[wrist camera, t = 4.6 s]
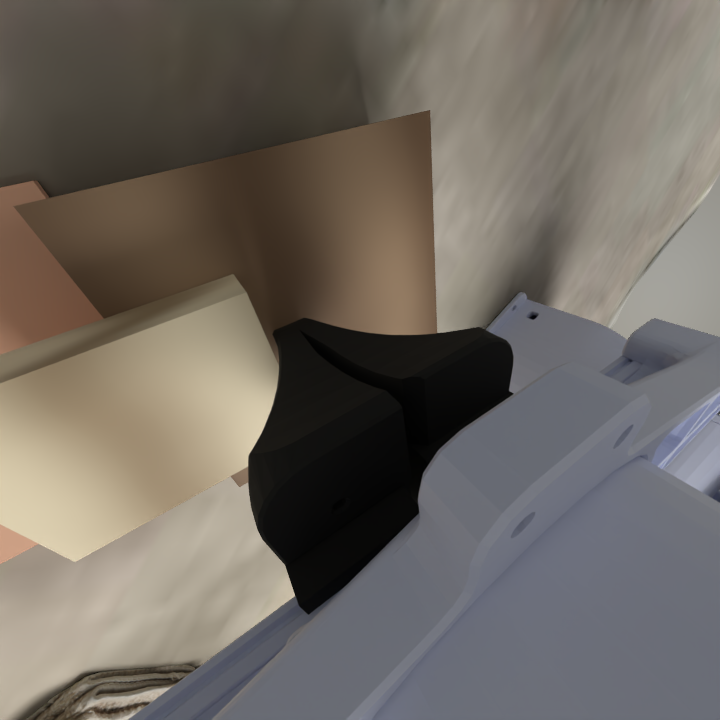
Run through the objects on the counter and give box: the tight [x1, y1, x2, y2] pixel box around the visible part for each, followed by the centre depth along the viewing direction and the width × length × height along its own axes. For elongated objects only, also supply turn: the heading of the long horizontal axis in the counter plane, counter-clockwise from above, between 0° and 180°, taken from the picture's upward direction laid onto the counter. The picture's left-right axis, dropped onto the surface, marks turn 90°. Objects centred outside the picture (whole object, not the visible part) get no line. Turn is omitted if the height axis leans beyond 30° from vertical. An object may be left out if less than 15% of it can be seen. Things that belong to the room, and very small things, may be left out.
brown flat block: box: [14, 110, 437, 487], centre depth 14 cm, size 12×12×4 cm
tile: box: [0, 274, 279, 562], centre depth 9 cm, size 8×6×2 cm
